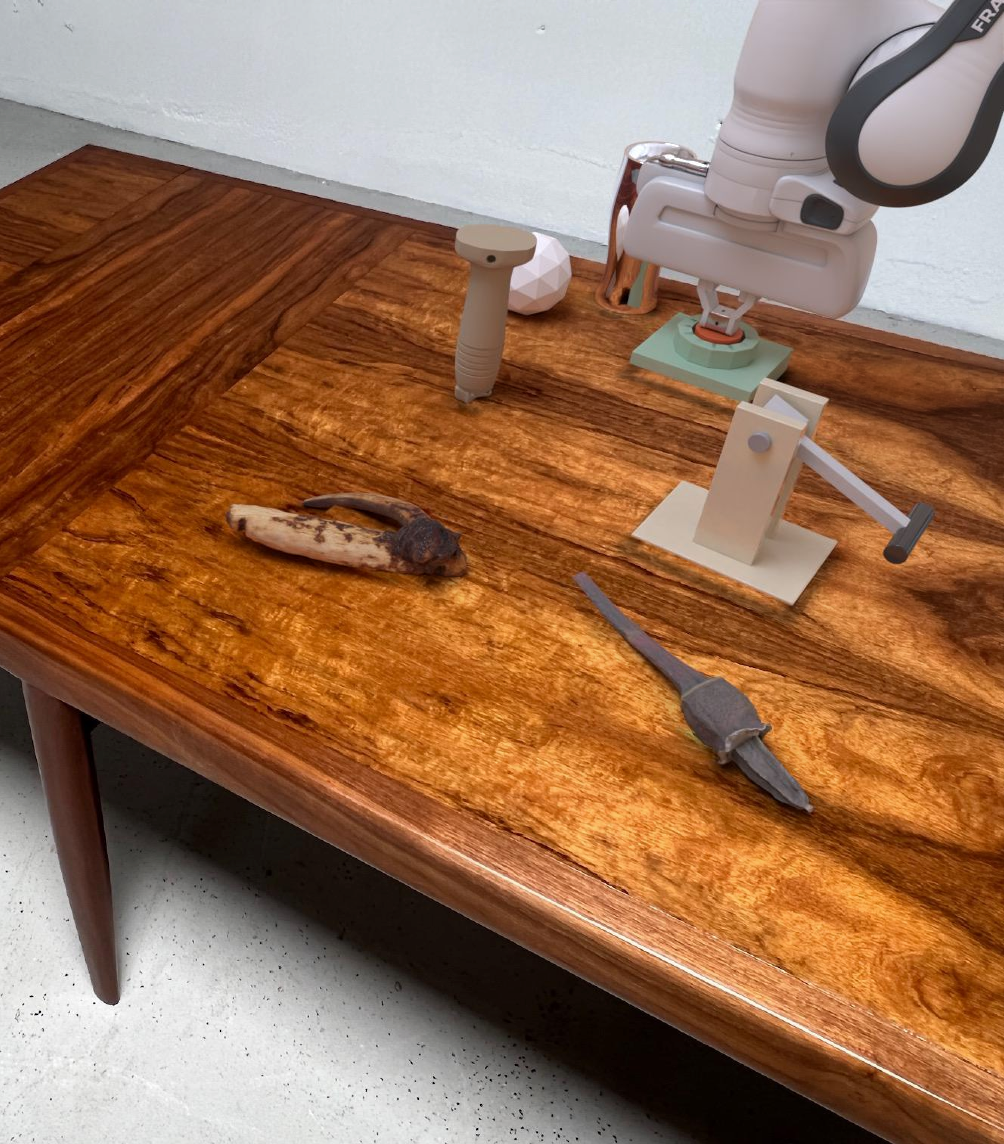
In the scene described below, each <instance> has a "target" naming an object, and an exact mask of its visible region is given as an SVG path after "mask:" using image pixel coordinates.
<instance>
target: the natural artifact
mask: <svg viewBox="0 0 1004 1144" xmlns="http://www.w3.org/2000/svg"><path fill="white" fill-rule="evenodd" d="M571 578H572V579H573V580H574V581H575V582H576V584H578V586H579V588H580V589H581V590H582V591H583V592H584V594H586V596H587V598H589V600H590V601H591V602H592V604H593V605H594V607H596V608H597V610H598V611H599V613H600V614H601V615H602V616H603V618H604V619H605V620H606V621H607V622H608V623H609V625H610V626H612V628H613V629H614V630H615V631H616V632H617V633H618V634H619V635H620V636H621V637H622V638H623V639H624V640H626V641H627V643H629V644H630V645H631V646H632V648H634V649H635V650H636V651H638V652H639V653H640V654H642V655H643V656H644V657H645V658H646V659H647V660H648V661H649V662H650V663H652V664H653V665H654V666H655V667H656V668H657V669H658V670H659V671H660V672H661V673H662V674H663V675H664V676H665V677H666V678H667V679H668V681H670V682H671V683H672V684H673V685H674V688H675V689H676V690H678V692H679V694H680V701H681V703H680V704H679V707H680V709H681V711H682V713H683V717H684V720H685V722H686V725H687V726H689V727H690V729H691V730H692V731H691V733H692V734H693V736H694V737H696V739H698V740H699V741H701V742H702V743H703V745H706V746H707V747H709V748H711V749H712V750H713V751H714V752H715V753H716V755H717V756H718V757H719V760H717V763H718V764H719V765H726V764H728V763H730V762H731V761H733V762H734V763H736V765H737V766H738V767H739V768H740V770H741V771H742V772H743V773H744V774H745V775H746V776H747V777H748V778H749V779H750V780H751V781H753V782H754V784H756V785H757V786H759V787H760V788H762V789H763V790H765V791H767V792H768V793H770V794H771V795H772V796H773V797H774V799H776V800H778V801H779V802H780V803H783V804H787V805H789V806H791V807H794V808H795V809H797V810H801V811H802V810H805V811H806V812H807V813H809V814H810V813H812V812H813V810H814V806H813V805H811V804H810V800H809V797H808V795H807V793H806V792H805V790H804V788H803V787H802V786H801V785H800V783H799V781H798V780H797V778H795V777H794V776H793V775H791V774H790V772H789V771H788V770H787V769H786V767H785V766H784V765H783V763H782V762H781V761H780V760H779V759H778V758H777V757H776V755H774V753H773V752H772V751H771V750H770V749H769V748H768V746H767V745H766V744H765V743H764V742H763V740H764V738H765V736H766V735H768V733H769V732H771V731H772V729H773V726H772V724H771V723H770V722H768V723H766V722H762V720H761V718H760V717H759V714H758V710H757V709H756V706H755V705H754V704H753V702H752V701H751V700H750V699H749V697H747V695H745V693H743V692H742V691H741V690H740V689H738V688H737V687H736V686H735V685H734V684H732V683H730V682H728V681H727V680H726V679H725V677H723V676H722V675H720V676H719V675H718V676H711V677H708V676H707V675H705V674H704V673H703V672H700V671H698V670H696V669H695V668H693V666H690V665H689V664H687V663H685V662H684V661H682V660H681V659H679V657H677V656H675V655H674V654H672V653H671V652H670V651H668V650H667V649H666V648H664V647H663V646H662V645H661V644H659V643H658V642H657V641H656V640H654V639H653V638H652V637H650V636H649V635H648V634H647V633H646V631H644V630H643V629H642V628H641V627H640V625H639V624H638V623H637V622H635V621H634V620H631V619H630V618H629V617H628V616H626V615H625V614H624V613H623V611H621V610H620V609H619V608H618V606H616V605H615V604H614V603H613V602H612V601H611V599H609V598H608V597H607V596H606V594H605V593H604V592H603V591H602V590H601V588H600V587H599V586H598V585H597V584H596V583H595V582H594V581H593V580H592V578H591V577H590V576H589V575H588V574H587V573H586V572H584V571H581V572H579V573H576V574H575V575H573V576H572V577H571Z"/></svg>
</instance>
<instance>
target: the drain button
mask: <svg viewBox="0 0 1004 1144" xmlns="http://www.w3.org/2000/svg"><path fill="white" fill-rule="evenodd" d="M694 334H695V335H696V336H697V337H699V338H700V339H701V340H704V341H707V342H710V343H713V344H721V345H732V344H737V343H740V341H741V338H742V335H743V332H742V330H741V329H740V328H739V327H738V329H737V331H736V332H735V333H734V334H733V335H732V336H729V335H726V334H723V333H720V332H717V331H715V330H711V329H708V328H704V327H702V326H700V322H699V323H698V324H697V325H696V328H695V331H694Z"/></svg>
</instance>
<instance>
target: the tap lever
mask: <svg viewBox="0 0 1004 1144" xmlns="http://www.w3.org/2000/svg"><path fill="white" fill-rule="evenodd" d="M763 408H765V409H768V410H770V411H773V412H776V413H779V414H782V415H785V416H788V417H790V418H793V419H796V420H799V421H802V422H805V423H807V422H808V421H809V420H808V419H807V418H806V417H804V416H803V415H802V414H801V413H799V412H798V411H797V410H796V409H794V408H793V407H792V406H790V405H789V404H788V403H787V402H785V401H784V400H783V399H782V398H780V397H779V396H778V395H777V394H775V395H774V396H773V397H772V398H771V399H770V400H769V401H768V402H767V403H766V404H765V406H764V407H763ZM796 456H797V457H798V458H799V459H800V460H802V461H803V462H804V465H805V464H806V465H807V466H808V467H809V468H810V469H811V470H813V471H814V472H815V473H816V474H817V475H819V476H820V477H821V478H823V480H825V481H827V482H828V483H829V484H831V486H833V487H834V488H835V489H836V490H838V491H839V492H840V493H841V494H843V496H845V497H846V498H847V499H849V500H850V501H851V502H852V503H853V504H855V505H856V506H857V507H858V508H860V509H861V510H862V511H864V513H866V514H867V515H868V516H870V517H871V518H872V519H873V520H875V521H876V522H877V523H878V524H879V525H881V527H883V528H885V529H886V530H887V531H888V532H890V533H891V534H892V536H891V538H890V539H889V541H888V543H887V544H886V546H885V547H884V548H883V552H882V556H883V559H885V560H886V562H888V563H890V564H893V565H902V564H904V563H905V562H907V560H908V559H909V557H910V556H911V554H912V552H913V551H914V549H915V548H916V546H917V545H918V543H919V541H920V540H921V538H922V537H923V535H924V533H925V532H926V531H927V528H928V527H929V525H930V524H931V522H932V521H933V519H934V518H935V515H936V513H935V509H934V507H933V506H932V505H930V504H928V503H926V502H917V503H915V504H913V505H912V507H911V508H910V509H909V511H908V512H907V514H906V515H905V514H904V513H903V512H902V511H901V510H899V508H897V507H895V506H894V505H893V504H892V503H890V501H889V500H888V499H886V498H884V497H883V496H882V495H881V494H879V493H878V492H877V491H876V490H874V489H873V488H871V486H869V485H868V484H867V483H865V482H864V481H863V480H862V479H860V478H859V477H858V476H857V475H855V474H854V473H853V472H852V471H851V470H850V469H848V468H847V467H845V466H844V465H843V464H842V463H841V462H839V461H838V460H837V459H835V458H834V457H833V456H832V455H831V454H829V453H828V452H827V451H825V450H824V449H823V448H822V447H821V446H819V445H818V444H817V443H815V442H814V440H813V441H812V440H810V439H809V438H808V437H807V436H805V435H803V438H802V441H801V443H800V446H799V448H798V451H797V454H796Z"/></svg>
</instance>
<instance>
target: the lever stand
mask: <svg viewBox="0 0 1004 1144" xmlns="http://www.w3.org/2000/svg"><path fill="white" fill-rule="evenodd" d="M775 394H777V395H778V396H779V397H780V398H782V399H783V400H784V401H785V402H787V403H788V404H789V405H790V406H792V407H793V408H794V409H796V410H797V411H798V412H799V413H801V414H802V415H803V416H804V417H806V418H807V419H808V420H809V421H808V422H807V423H805V422H802V421H799V420H796V419H793V418H790V417H788V416H785V415H782V414H779V413H776V412H773V411H770V410H768V409H765V408H763V407H764V406H765V404H766V403H767V402H768V401H769V400H770V399H771V398H772V397H773V396H774V395H775ZM829 401H830V398H828V397H825V396H822V395H819V394H816V393H813V392H810V391H807V390H804V389H801V388H799V387H795V386H792V385H790V384H787V383H783V382H780V381H777V380H776V381H775V380H772V379H769V378H766V377H765V378H764V379H763V380H762V381H761V382H760V383H759V386H758V389H757V392H756V395H755V398H754V401H753V400H752V403H751V402H749V403H748V402H745V401H742V402H739V403H738V404H737V406H736V407H735V410H734V413H733V417H732V419H731V422H730V425H729V428H728V431H727V434H726V438H725V441H724V443H723V447H722V449H721V453H720V455H719V459H718V461H717V465H716V468H715V470H714V473H713V476H712V479H711V483H710V486H709V489H707V488H705V487H702V486H699V485H697V484H695V483H692V482H689V481H687V480H684V479H682V480H681V481H680V482H679V483H678V484H677V485H676V487H674V488H673V490H672V491H671V492H670V493H669V494H668V495H667V496H666V497H665V498H664V499H663V500H662V501H661V502H660V503H659V504H658V505H657V506H656V508H654V510H653V511H651V513H649V515H648V516H647V517H646V518H645V519H644V520H643V521H642V522H641V523H639V525H638V527H636V529H635V530H634V531H633V532H632V533H631V534H630V536H631V537H632V538H635V539H637V540H640V541H641V542H644V543H647V544H649V545H650V546H653V547H656V548H658V549H661V550H662V551H665V552H667V553H670V554H672V555H674V556H676V557H678V558H681V559H683V560H685V561H687V562H690V563H692V564H695V565H697V566H699V567H701V568H704V569H706V570H709V571H711V572H713V573H715V574H718V575H720V576H722V577H725V578H727V579H730V580H732V581H733V582H736V583H739V584H741V585H744V586H745V587H748V588H750V589H753V590H755V591H757V592H759V593H762V594H763V595H766V596H768V597H771V598H773V599H775V600H778V601H780V602H782V603H784V604H787V605H789V606H793V607H794V605H795V604H796V602H797V601H798V600H799V598H800V597H801V596H802V594H803V593H804V590H805V589H806V588H807V587H808V585H809V584H810V583H811V581H812V580H813V579H814V577H815V576H816V575H817V573H818V572H819V570H820V569H821V567H822V566H823V565H824V563H825V562H826V560H827V559H828V558H829V556H830V555H831V553H832V552H833V550H834V549H836V547H837V545H838V543H839V541H838V540H835V539H833V538H831V537H828V536H825V535H822V534H821V533H818V532H816V531H813V530H810V529H808V528H805V527H802V526H800V525H798V524H795V523H793V522H790V521H788V520H785V519H784V515H785V514H786V510H787V508H788V505H789V503H790V501H791V498H792V495H793V493H794V490H795V488H796V485H797V482H798V480H799V479H800V476H801V472H802V469H803V468H804V465H805V463H804V462H803V461H802V460H800V459H799V458H798V457H797V456H796V454H797V451H798V448H799V446H800V443H801V441H802V438H803V435H805V436H807V437H808V438H809V439H810V440H812V441H813V442H814V439H815V436H816V434H817V431H818V429H819V426H820V424H821V421H822V419H823V416H824V413H825V411H826V408H827V406H828V404H829Z"/></svg>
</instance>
